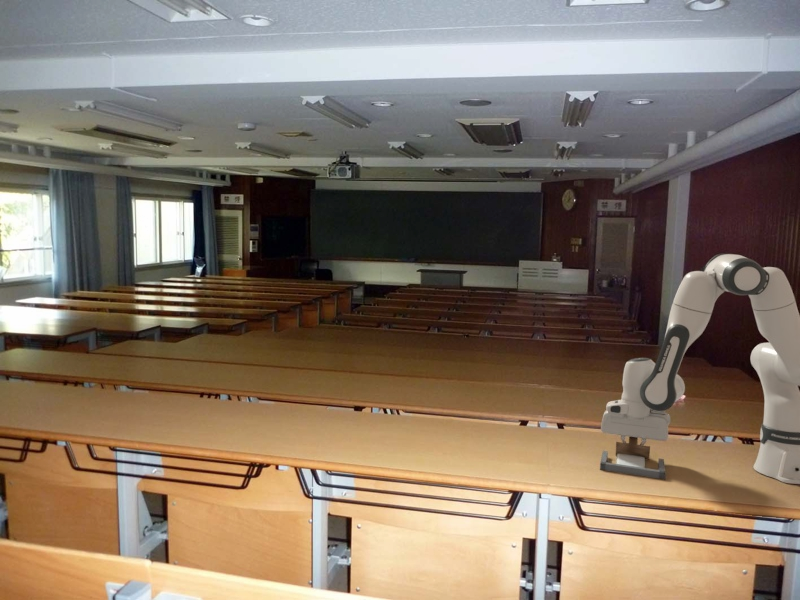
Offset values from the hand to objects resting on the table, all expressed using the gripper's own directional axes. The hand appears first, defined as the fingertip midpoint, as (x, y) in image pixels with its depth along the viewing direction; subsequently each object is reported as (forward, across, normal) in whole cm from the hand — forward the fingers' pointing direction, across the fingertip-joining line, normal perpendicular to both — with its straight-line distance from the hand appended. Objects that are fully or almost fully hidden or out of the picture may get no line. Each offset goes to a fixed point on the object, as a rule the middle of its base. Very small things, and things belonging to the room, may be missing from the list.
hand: (632, 449), depth 197 cm
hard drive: (+3, 0, +8) cm, 8 cm away
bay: (+2, 0, +10) cm, 11 cm away
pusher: (0, 0, -2) cm, 3 cm away
